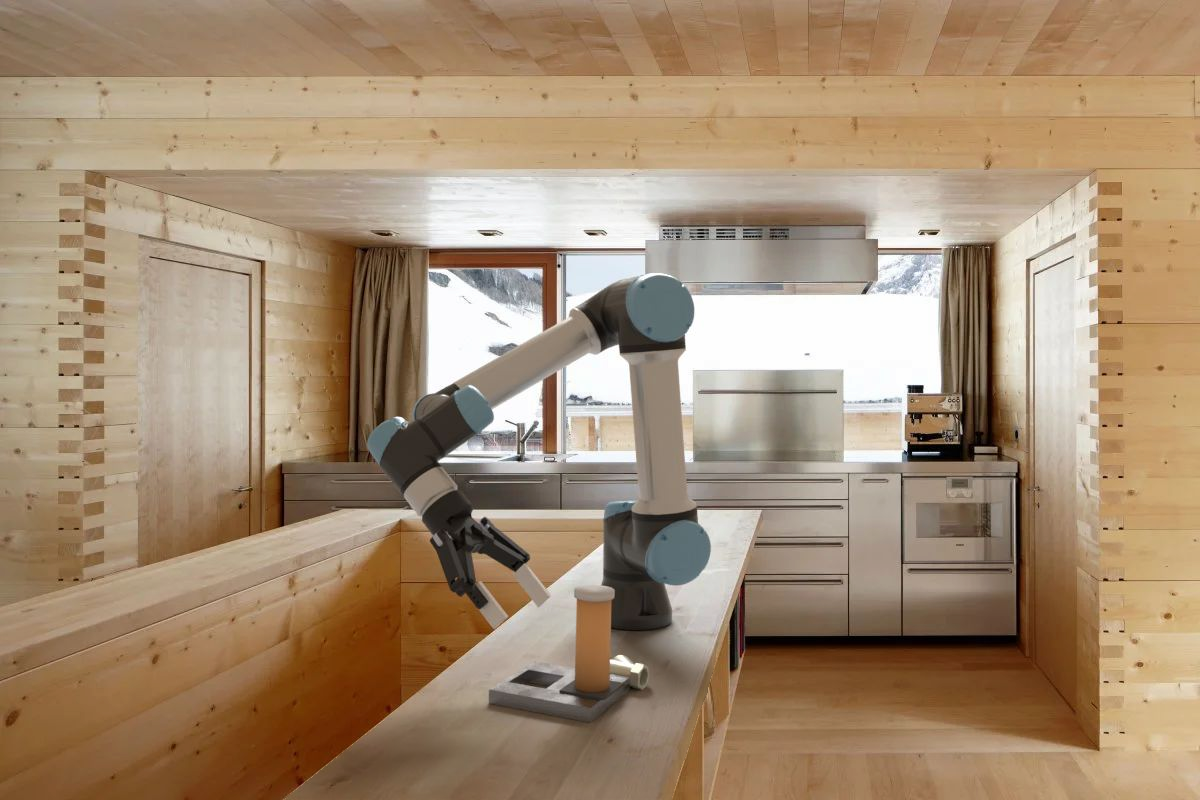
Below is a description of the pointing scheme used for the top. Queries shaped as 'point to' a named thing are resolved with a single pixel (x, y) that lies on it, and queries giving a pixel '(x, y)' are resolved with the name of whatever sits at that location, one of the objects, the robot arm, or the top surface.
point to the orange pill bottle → (593, 637)
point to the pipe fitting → (630, 671)
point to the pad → (596, 695)
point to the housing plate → (552, 693)
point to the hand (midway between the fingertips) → (524, 612)
